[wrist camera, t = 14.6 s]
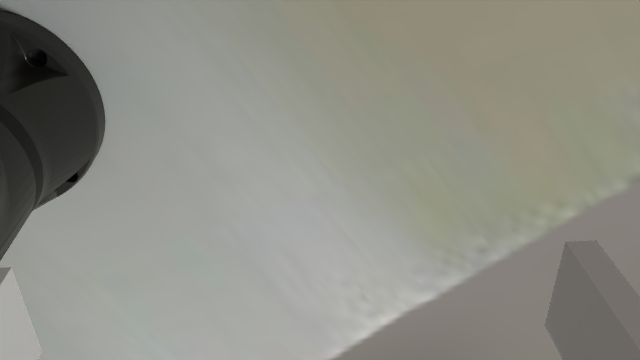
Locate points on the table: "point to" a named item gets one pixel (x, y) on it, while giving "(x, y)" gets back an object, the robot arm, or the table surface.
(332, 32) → the table surface
